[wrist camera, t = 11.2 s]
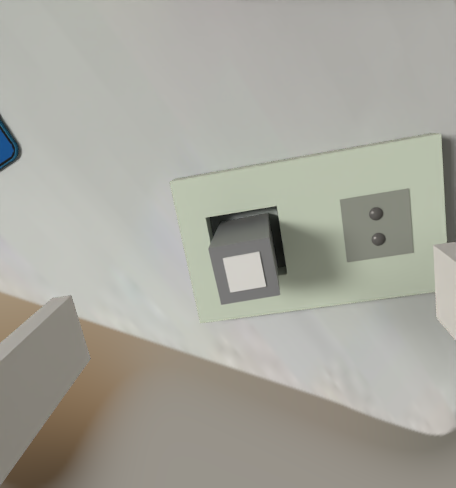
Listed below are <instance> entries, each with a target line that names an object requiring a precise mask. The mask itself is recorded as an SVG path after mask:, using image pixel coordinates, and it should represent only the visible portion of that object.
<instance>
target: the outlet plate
mask: <svg viewBox="0 0 456 488" xmlns="http://www.w3.org/2000/svg"><path fill="white" fill-rule="evenodd" d="M170 187H171V191H172V196H173V201H174V205H175V210H176V214H177V219H178V224H179V228H180V233H181V237H182V242H183V247H184V251H185V256H186V260H187V265H188V270H189V274H190V279H191V284H192V288H193V293H194V297H195V302H196V307H197V311H198V316H199V320H200V323H207V322H214V321H222V320H229V319H237V318H244V317H252V316H259V315H267V314H274V313H282V312H289V311H297V310H304V309H312V308H319V307H327V306H334V305H341V304H349V303H356V302H364V301H371V300H379V299H386V298H394V297H401V296H409V295H416V294H424V293H431V292H435V274H434V252H433V245H436V244H443V243H447V235H446V216H445V197H444V178H443V159H442V140H441V134H437V133H429V134H424V135H418V136H412V137H407V138H401V139H396V140H390V141H384V142H379V143H373V144H368V145H362V146H356V147H351V148H345V149H340V150H334V151H328V152H323V153H317V154H312V155H306V156H300V157H295V158H289V159H284V160H278V161H272V162H267V163H261V164H256V165H250V166H244V167H239V168H233V169H228V170H222V171H216V172H211V173H205V174H200V175H194V176H188V177H183V178H177V179H174V180H172V181H170ZM273 206H277V211H278V218H279V224H280V230H281V237H282V243H283V250H284V256H285V263H286V266H285V267H278V277H279V286H280V295H278V296H272V297H266V298H260V299H254V300H248V301H242V302H236V303H230V304H224V305H221V302H220V297H219V293H218V289H217V284H216V280H215V276H214V272H213V267H212V263H211V259H210V254H209V250H208V248H209V246H210V243H211V241H212V239H213V233H212V227H211V222H210V217H213V216H219V215H225V214H231V213H237V212H243V211H249V210H255V209H261V208H267V207H273Z"/></svg>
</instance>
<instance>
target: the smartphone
mask: <svg viewBox="0 0 456 488" xmlns="http://www.w3.org/2000/svg"><path fill="white" fill-rule="evenodd" d="M17 155H18V146H17V143H16V142H15V140H14V139H13V137H12V136H11V134H10V133H9V131H8V130H7V129H6V127H5V126H4V124H3V123H2V121H1V120H0V169H1V168H3V167H4V166H6V165H7V164H8V163H10V162H12V161H13V160H15V159H16V157H17Z"/></svg>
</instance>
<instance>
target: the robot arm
mask: <svg viewBox="0 0 456 488" xmlns="http://www.w3.org/2000/svg"><path fill="white" fill-rule="evenodd" d="M433 252H434V274H435V296H436V318H437V319H438V320H439V322H440V323H441V324H442V325H443V326H444V327H445V329H446V330H447V331H448V332H449V333H450V334H451V336H452V337H453V338H454V339H455V340H456V242H450V243H443V244H436V245H433ZM89 360H90V355H89V352H88V349H87V346H86V342H85V339H84V335H83V332H82V329H81V326H80V322H79V319H78V316H77V312H76V309H75V306H74V303H73V299H72V296H71V295H70V296H63V297H56V298H52V299H51V300H50V301H48V302H47V303H46V304H45V305H44V306H43V307H41V308H40V309H39V310H38V311H37V312H36V313H34V314H33V315H32V316H31V317H30V318H29V319H28V320H26V321H25V322H24V323H23V324H22V325H21V326H19V327H18V328H17V329H16V330H15V331H14V332H12V333H11V334H10V335H9V336H8V337H7V338H5V339H4V340H3V341H2V342H1V343H0V485H1V484H2V482H3V481H4V479H5V478H6V477H7V475H8V474H9V472H10V471H11V470H12V468H13V467H14V465H15V464H16V462H17V461H18V460H19V458H20V457H21V456H22V454H23V453H24V451H25V450H26V449H27V447H28V446H29V444H30V443H31V442H32V440H33V439H34V437H35V436H36V435H37V433H38V432H39V430H40V429H41V428H42V426H43V425H44V423H45V422H46V421H47V419H48V418H49V416H50V415H51V414H52V412H53V411H54V409H55V408H56V407H57V405H58V404H59V402H60V401H61V399H62V398H63V397H64V395H65V394H66V393H67V391H68V390H69V388H70V387H71V386H72V384H73V383H74V381H75V380H76V379H77V377H78V376H79V374H80V373H81V372H82V370H83V369H84V367H85V366H86V365H87V363H88V362H89Z"/></svg>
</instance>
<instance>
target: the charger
mask: <svg viewBox="0 0 456 488" xmlns="http://www.w3.org/2000/svg"><path fill="white" fill-rule="evenodd" d="M208 250H209V254H210V259H211V263H212V267H213V272H214V276H215V280H216V284H217V289H218V293H219V297H220V302H221V305H224V304H230V303H236V302H242V301H248V300H254V299H260V298H266V297H272V296H278V295H280V286H279V277H278V267H277V258H276V253H275V248H274V243H273V237H272V232H271V227H270V222H269V217H268V213H265V214H259V215H254V216H249V217H244V218H239V219H233V220H228V221H223V222H220V224H219V226H218V228H217V230H216V232H215V235H214V237H213V239H212V241H211V243H210V246H209V248H208Z"/></svg>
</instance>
